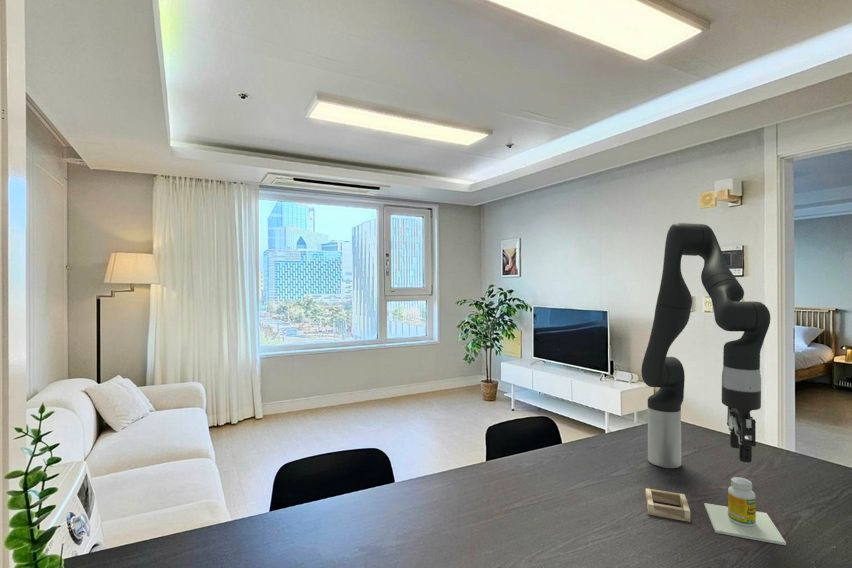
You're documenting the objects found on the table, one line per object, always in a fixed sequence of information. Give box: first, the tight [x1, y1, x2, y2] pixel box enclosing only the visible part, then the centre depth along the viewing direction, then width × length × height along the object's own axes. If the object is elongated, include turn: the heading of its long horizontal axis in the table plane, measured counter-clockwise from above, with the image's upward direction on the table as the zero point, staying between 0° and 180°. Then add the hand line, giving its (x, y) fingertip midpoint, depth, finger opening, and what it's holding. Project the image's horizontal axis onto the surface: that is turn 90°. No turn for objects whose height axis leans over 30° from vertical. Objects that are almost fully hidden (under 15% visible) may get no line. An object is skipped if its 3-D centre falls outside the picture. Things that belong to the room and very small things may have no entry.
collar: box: [645, 487, 691, 523], centre depth 110 cm, size 9×9×2 cm
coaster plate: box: [703, 502, 787, 546], centre depth 103 cm, size 13×13×1 cm
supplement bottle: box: [727, 476, 757, 527], centre depth 103 cm, size 5×5×10 cm
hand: (740, 454), depth 103 cm, fingers open, 8 cm apart
